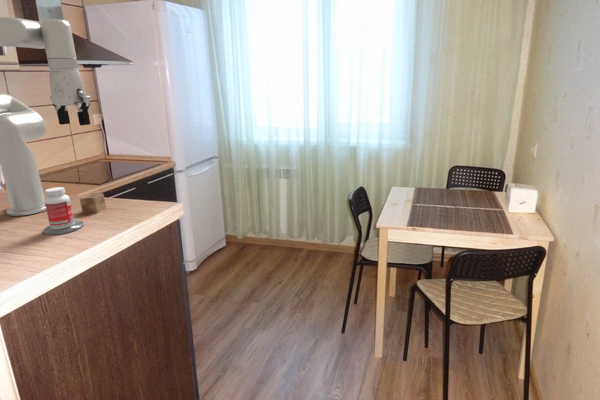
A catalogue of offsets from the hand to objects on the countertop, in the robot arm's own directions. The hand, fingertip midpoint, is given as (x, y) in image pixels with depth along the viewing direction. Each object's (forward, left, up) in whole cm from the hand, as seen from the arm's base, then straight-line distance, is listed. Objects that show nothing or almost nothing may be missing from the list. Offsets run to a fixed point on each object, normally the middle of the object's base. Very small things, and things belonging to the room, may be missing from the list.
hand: (74, 124), depth 123 cm
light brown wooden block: (+1, 0, -28) cm, 28 cm away
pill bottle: (+7, -15, -27) cm, 32 cm away
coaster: (+7, -15, -28) cm, 32 cm away
